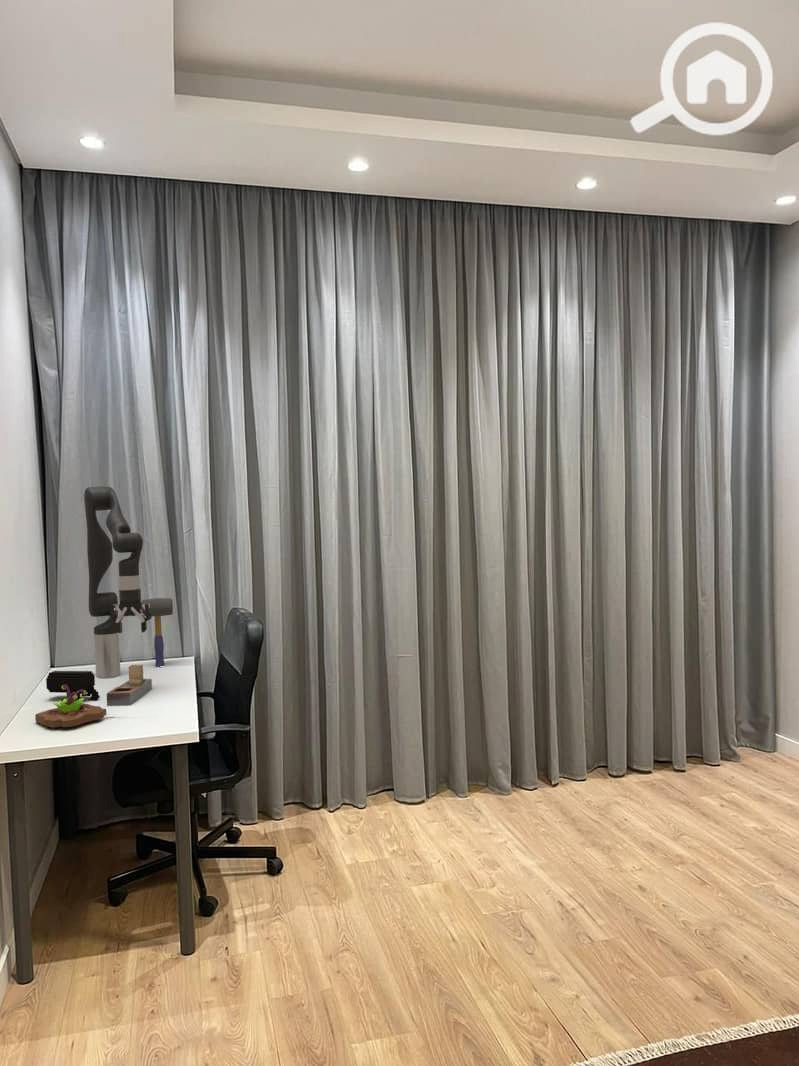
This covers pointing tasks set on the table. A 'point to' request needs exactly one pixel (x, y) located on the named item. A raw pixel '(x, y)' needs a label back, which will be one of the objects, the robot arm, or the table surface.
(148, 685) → the rail
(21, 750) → the table surface
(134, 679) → the brown upright block
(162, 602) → the rubber mallet
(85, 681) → the security camera
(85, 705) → the plant
